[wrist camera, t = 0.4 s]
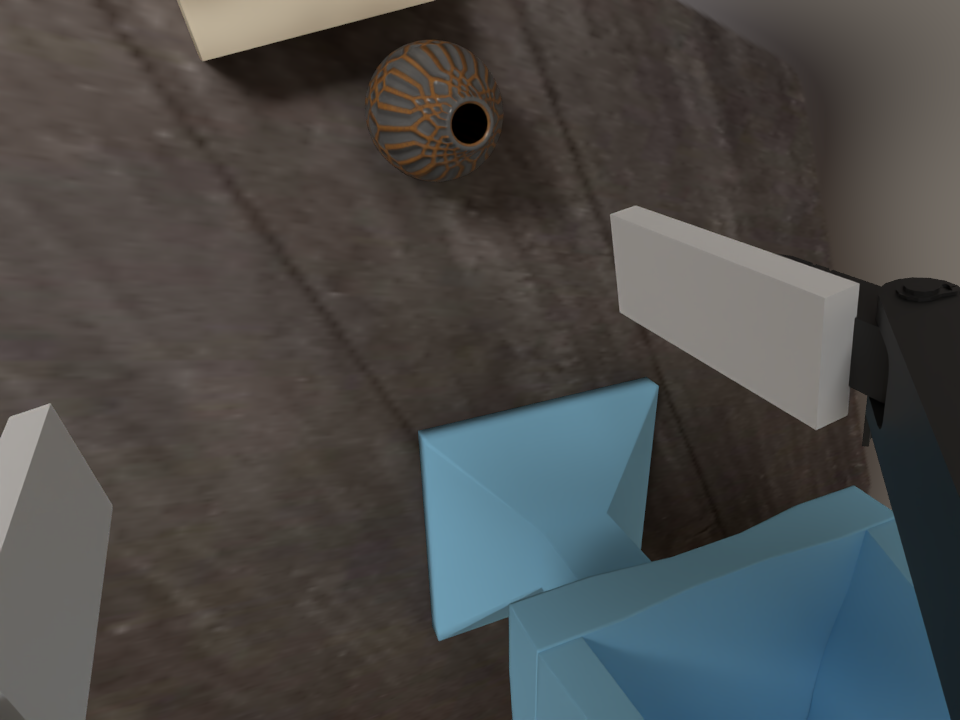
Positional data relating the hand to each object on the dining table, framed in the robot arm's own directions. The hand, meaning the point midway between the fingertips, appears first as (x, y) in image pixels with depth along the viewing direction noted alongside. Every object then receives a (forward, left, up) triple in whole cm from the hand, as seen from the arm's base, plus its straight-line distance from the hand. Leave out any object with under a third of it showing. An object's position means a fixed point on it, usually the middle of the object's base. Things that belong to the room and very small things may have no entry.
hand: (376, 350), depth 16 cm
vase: (-1, +9, -25) cm, 27 cm away
